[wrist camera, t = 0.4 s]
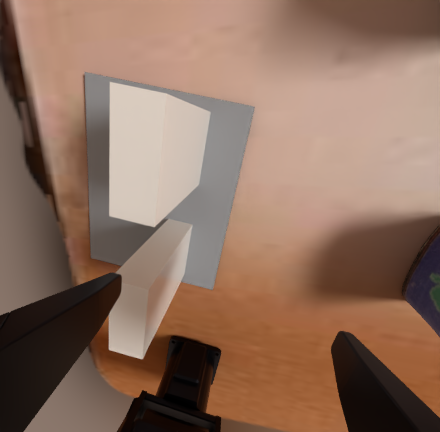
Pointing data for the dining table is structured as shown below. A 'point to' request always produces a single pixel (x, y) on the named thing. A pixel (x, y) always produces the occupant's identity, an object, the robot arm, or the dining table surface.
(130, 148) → the tile
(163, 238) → the tile
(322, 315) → the dining table surface
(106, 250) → the mat
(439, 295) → the flask
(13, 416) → the robot arm
